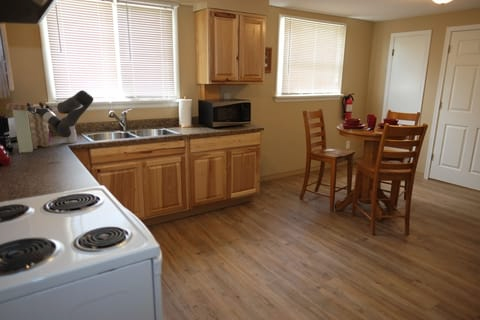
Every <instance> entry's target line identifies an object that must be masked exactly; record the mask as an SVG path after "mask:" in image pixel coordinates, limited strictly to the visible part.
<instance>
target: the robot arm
mask: <svg viewBox="0 0 480 320" xmlns="http://www.w3.org/2000/svg"><path fill="white" fill-rule="evenodd" d="M93 101H94V97H93V96H92V95H91V94H90V93H88V92H87V91H85V90H83V89H82V90H79V91H78V92H77V93H76V94H74V95H73V96H71V97H69V98H67V99H65V100H64V101H62V102H58V104H57V107H56V109H57V111H58V113H60V114H61V115H65V114H66V116H65V117H62V118H61V119H60V118H59V117H58V115H56V113H54V112H53V108H52V107H51V106H50V105H48V104H44V103H43V102H40V101H39V103H38V105H40V106H41V107H34V106H32V105H33V104H32V105H30V104H31V103H30V102H27V103H26V104H27V107H28V109H27V110H28V111H29V112H31V113H32V114H34V113H37V114H39V116H40V117H41V118H42V119H43V120H44V121H45V122H47V123H48V125H49V126H51V128H53V129H54V130H55V132H56V133H57V135H59V136H60V137H62V138H63V143H64V144H75V143H77V142H78V136H77V130H76V126H75V125H76V124H77V122H78V121H79V119H80V118H81V116H82V115H83V114H84V113H85V112H86V111H87V110H88V109H89V107H90V106H91V105H92V103H93ZM32 108H33V109H32ZM35 108H36V110H35Z"/></svg>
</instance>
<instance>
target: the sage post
mask: <svg viewBox="0 0 480 320" xmlns="http://www.w3.org/2000/svg"><path fill="white" fill-rule="evenodd" d="M12 113H13V114H12V115H13V121H14V127H15V133H16V141H17V145H18V151H19V154H22V152H23V153H32V152H33V151H34V149H33V147H32V140H31V133H30V127H29V120H28V114H27V111H24V110H12Z"/></svg>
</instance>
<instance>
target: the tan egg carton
mask: <svg viewBox="0 0 480 320" xmlns="http://www.w3.org/2000/svg"><path fill="white" fill-rule="evenodd" d="M32 105H33V106H34V107H41V106H40V105H39V104H32ZM35 110H36V108H35ZM27 114H28V120H29V127H30V133H31V140H32V147H33V150H36V149H38V146H39V147H50V141H48V134H47V127H46V122H45V121H44V120H43V119H42V118H41V117H40V116H39V114H37V113H34V114H32V113H31V112H29V111H27Z"/></svg>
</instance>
